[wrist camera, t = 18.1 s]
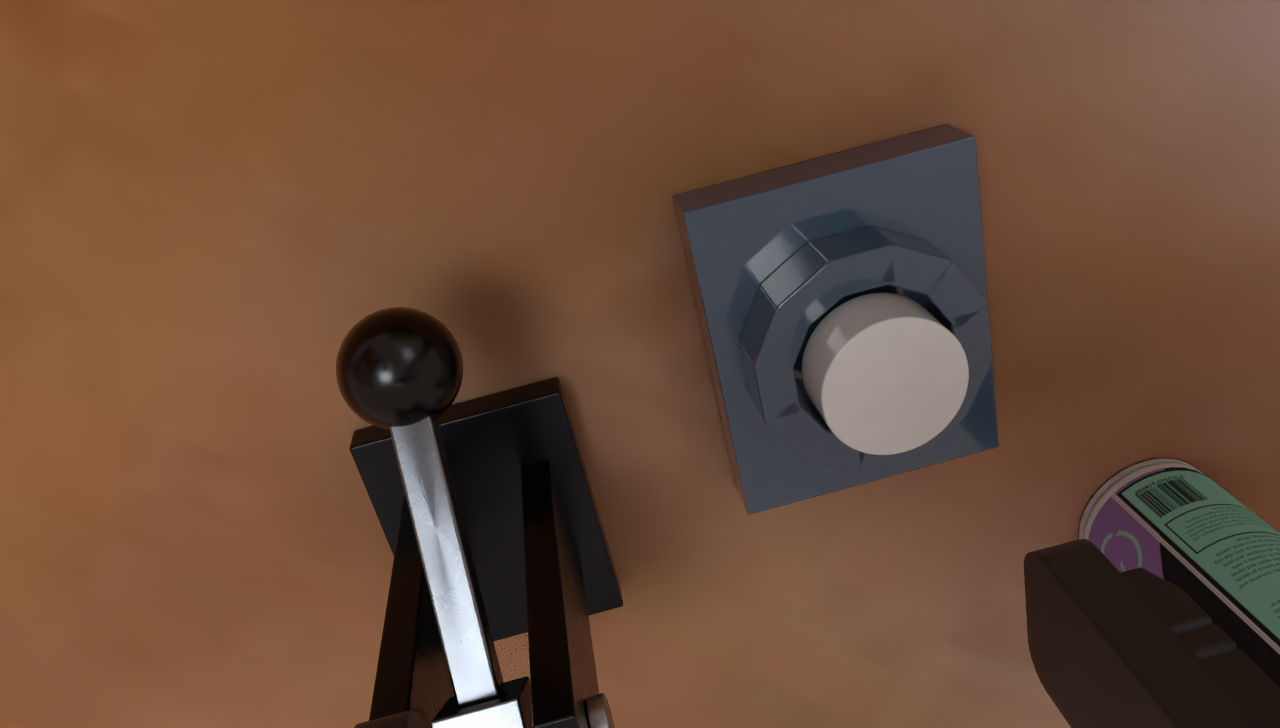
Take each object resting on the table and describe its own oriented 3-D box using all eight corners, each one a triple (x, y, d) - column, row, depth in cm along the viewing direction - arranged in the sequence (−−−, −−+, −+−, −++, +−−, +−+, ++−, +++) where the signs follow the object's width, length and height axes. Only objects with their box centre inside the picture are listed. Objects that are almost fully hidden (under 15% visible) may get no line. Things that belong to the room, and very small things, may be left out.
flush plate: (672, 195, 31) (695, 232, 27) (947, 123, 31) (1008, 150, 27) (734, 484, 35) (762, 549, 32) (973, 420, 36) (1027, 477, 32)
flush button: (790, 313, 29) (810, 340, 27) (933, 275, 29) (963, 299, 27) (812, 439, 31) (832, 472, 29) (946, 403, 31) (975, 433, 29)
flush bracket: (353, 430, 32) (276, 713, 21) (558, 376, 33) (593, 626, 21) (437, 636, 36) (411, 969, 25) (620, 586, 37) (678, 894, 25)
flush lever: (344, 333, 27) (305, 317, 24) (456, 303, 27) (433, 283, 24) (458, 803, 26) (433, 852, 23) (575, 771, 26) (566, 815, 23)
